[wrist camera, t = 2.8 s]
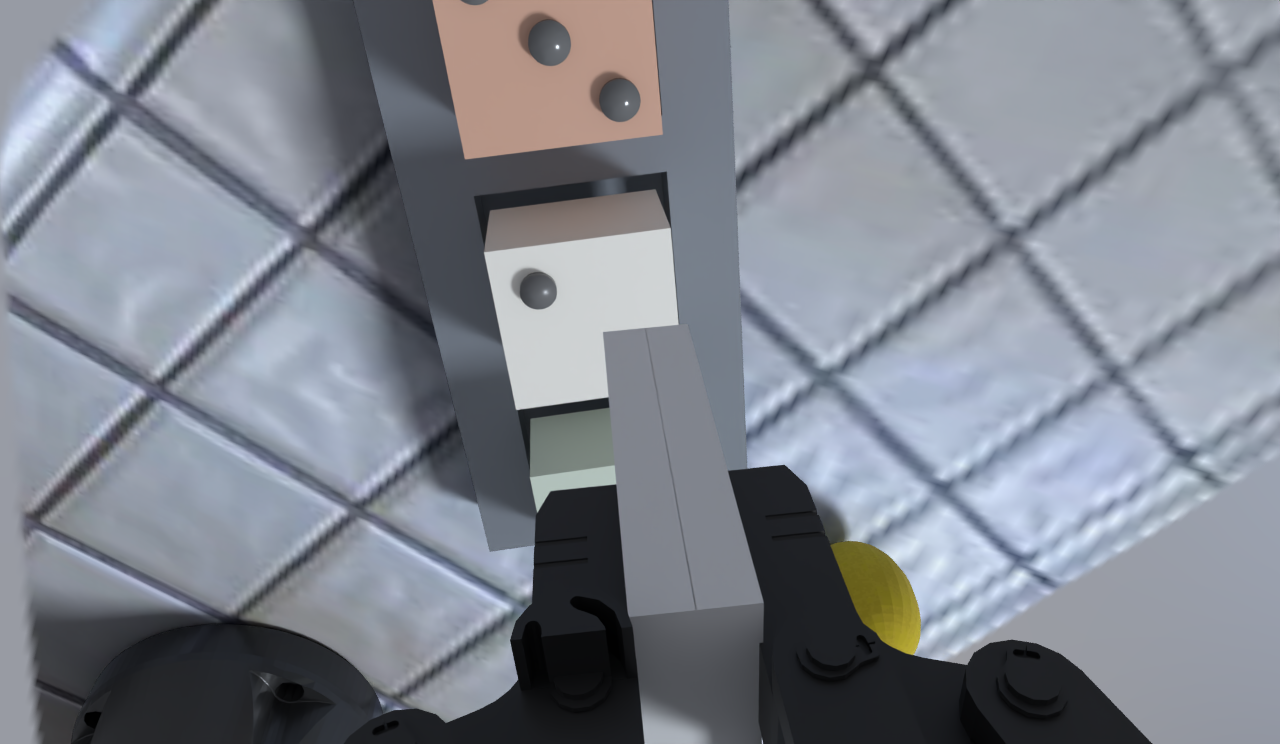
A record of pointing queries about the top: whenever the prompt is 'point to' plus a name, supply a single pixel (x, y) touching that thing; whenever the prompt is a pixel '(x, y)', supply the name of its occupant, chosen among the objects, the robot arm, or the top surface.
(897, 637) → the lemon
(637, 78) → the tile three
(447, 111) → the console
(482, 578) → the top surface
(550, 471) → the tile one
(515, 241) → the tile two
